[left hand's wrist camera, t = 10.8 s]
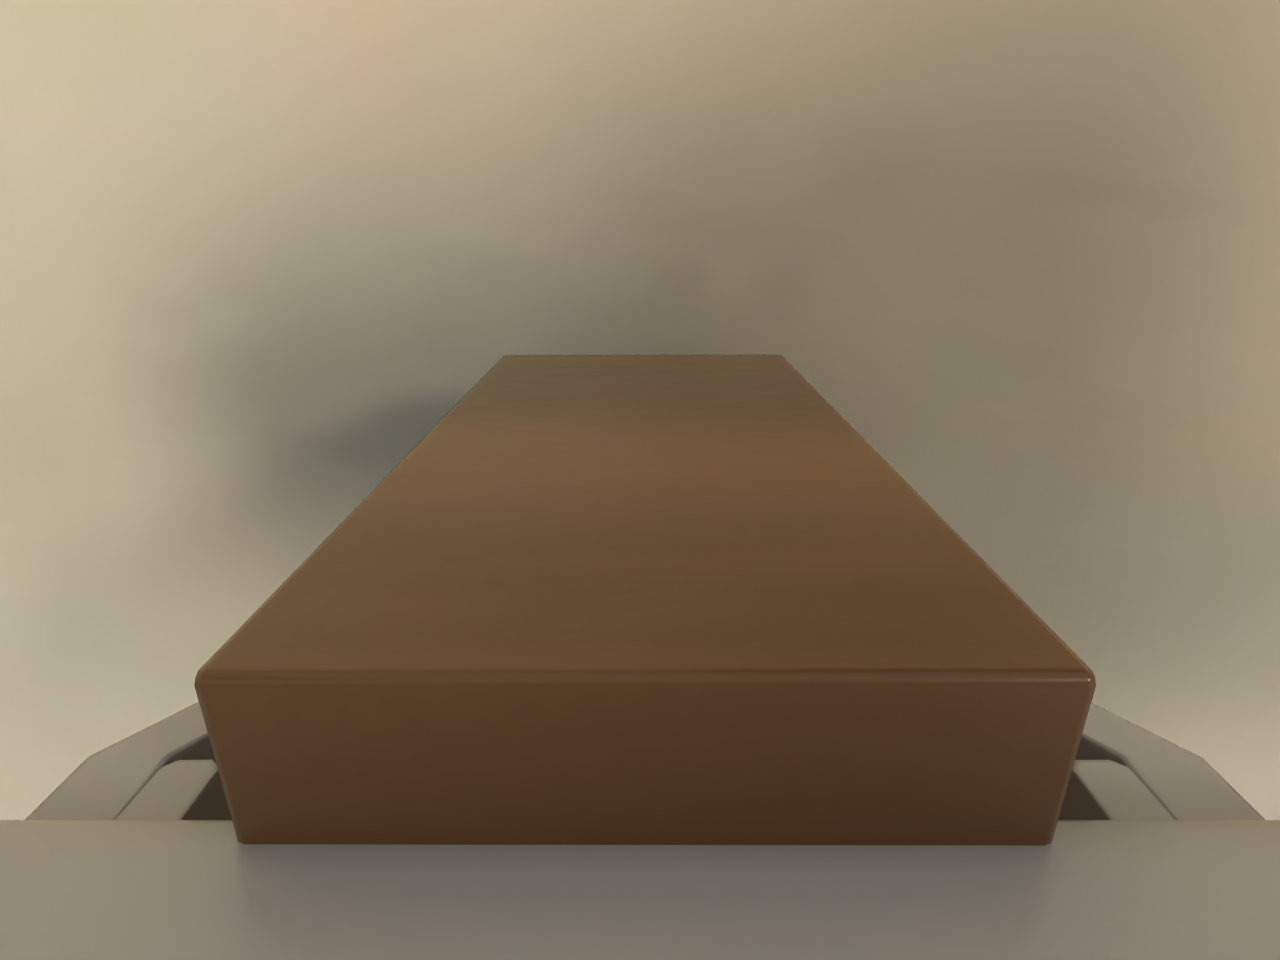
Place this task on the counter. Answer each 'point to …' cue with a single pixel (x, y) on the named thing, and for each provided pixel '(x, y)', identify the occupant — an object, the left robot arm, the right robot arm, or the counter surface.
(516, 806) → the box
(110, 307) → the counter surface
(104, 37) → the counter surface
